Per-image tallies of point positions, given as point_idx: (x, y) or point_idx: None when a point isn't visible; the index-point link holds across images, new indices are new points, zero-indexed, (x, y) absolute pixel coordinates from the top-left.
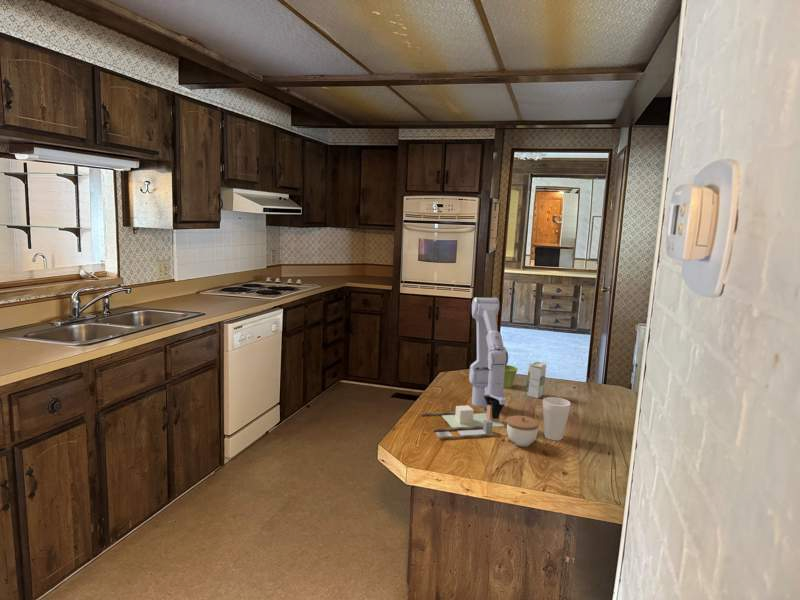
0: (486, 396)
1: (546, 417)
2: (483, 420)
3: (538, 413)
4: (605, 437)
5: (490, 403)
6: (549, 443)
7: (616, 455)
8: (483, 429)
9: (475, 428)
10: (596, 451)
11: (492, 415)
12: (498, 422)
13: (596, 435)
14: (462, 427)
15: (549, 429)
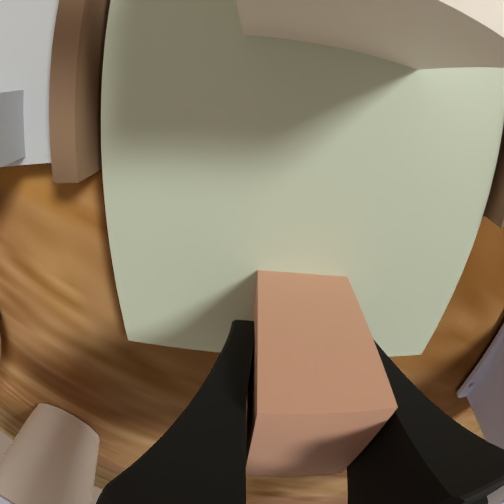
0: (478, 498)
1: (4, 472)
2: (296, 215)
3: (311, 480)
4: (98, 480)
5: (384, 449)
6: (5, 379)
7: (5, 431)
8: (7, 92)
9: (64, 17)
10: (7, 423)
11: (238, 339)
12: (205, 330)
13: (107, 479)
14: None
15: (20, 433)
